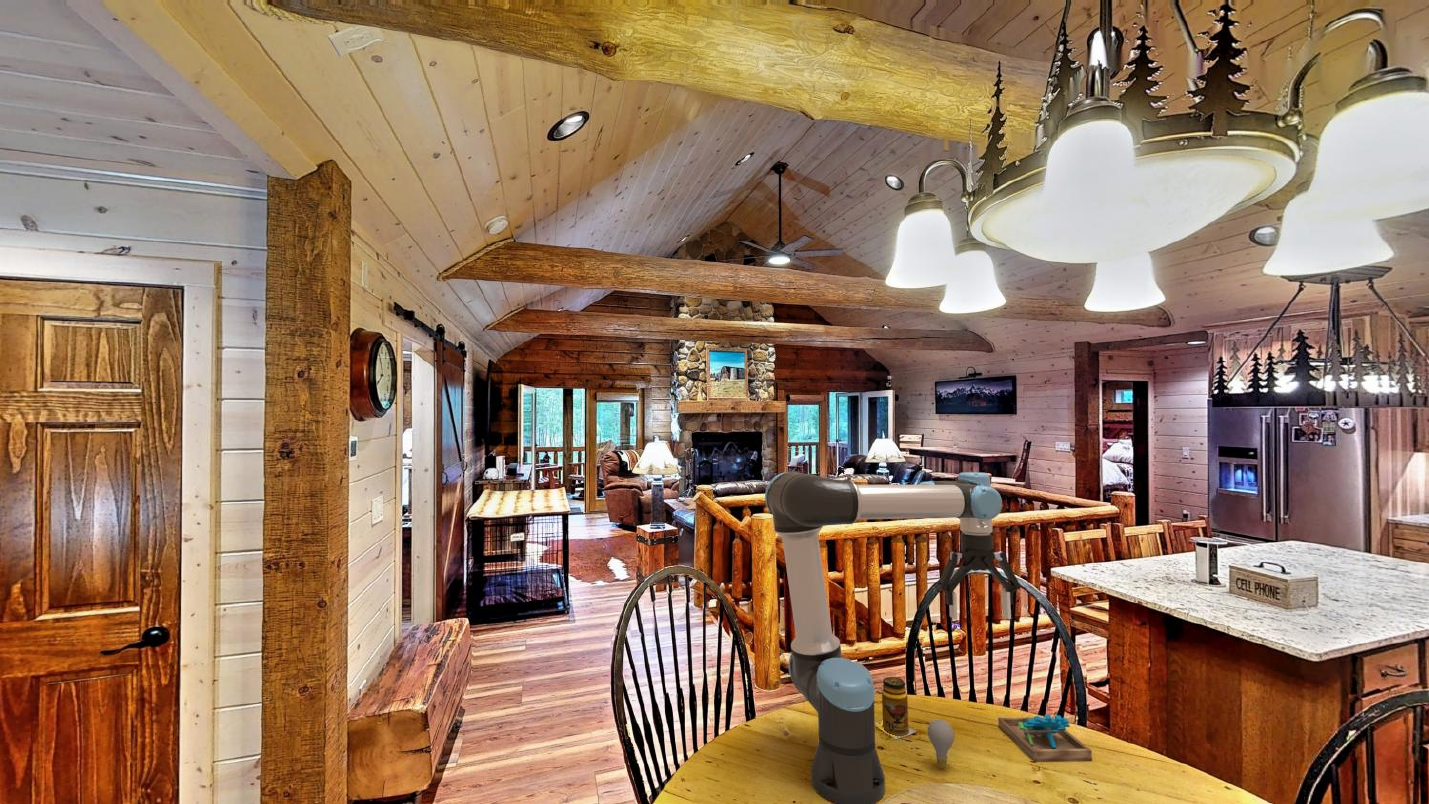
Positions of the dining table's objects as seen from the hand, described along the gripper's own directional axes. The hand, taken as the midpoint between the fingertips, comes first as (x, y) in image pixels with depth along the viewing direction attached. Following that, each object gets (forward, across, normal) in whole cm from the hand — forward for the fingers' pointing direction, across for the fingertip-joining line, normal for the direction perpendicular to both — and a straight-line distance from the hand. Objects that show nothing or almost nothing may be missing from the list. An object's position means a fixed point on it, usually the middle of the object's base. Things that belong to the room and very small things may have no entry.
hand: (980, 617), depth 139 cm
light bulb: (+27, -18, -17) cm, 37 cm away
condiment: (+27, -23, 0) cm, 35 cm away
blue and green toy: (+26, +10, -8) cm, 29 cm away
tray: (+27, +10, -8) cm, 29 cm away
